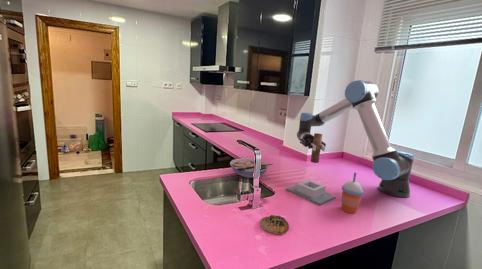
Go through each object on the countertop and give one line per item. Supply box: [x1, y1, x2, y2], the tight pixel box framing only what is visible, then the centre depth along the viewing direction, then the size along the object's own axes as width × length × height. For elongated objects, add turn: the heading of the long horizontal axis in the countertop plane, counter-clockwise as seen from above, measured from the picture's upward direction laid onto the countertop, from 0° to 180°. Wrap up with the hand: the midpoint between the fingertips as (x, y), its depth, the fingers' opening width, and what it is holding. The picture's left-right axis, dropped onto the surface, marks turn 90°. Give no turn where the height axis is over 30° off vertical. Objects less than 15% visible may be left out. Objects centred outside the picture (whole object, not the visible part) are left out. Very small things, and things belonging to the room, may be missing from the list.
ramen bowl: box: [229, 157, 273, 179], centre depth 147 cm, size 25×23×8 cm
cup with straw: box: [341, 172, 365, 214], centre depth 113 cm, size 9×9×18 cm
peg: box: [310, 132, 323, 164], centre depth 141 cm, size 4×4×16 cm
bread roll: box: [259, 214, 290, 236], centre depth 96 cm, size 11×11×5 cm
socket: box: [285, 179, 336, 207], centre depth 128 cm, size 20×14×5 cm
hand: (319, 148), depth 135 cm, fingers closed on peg, 4 cm apart
